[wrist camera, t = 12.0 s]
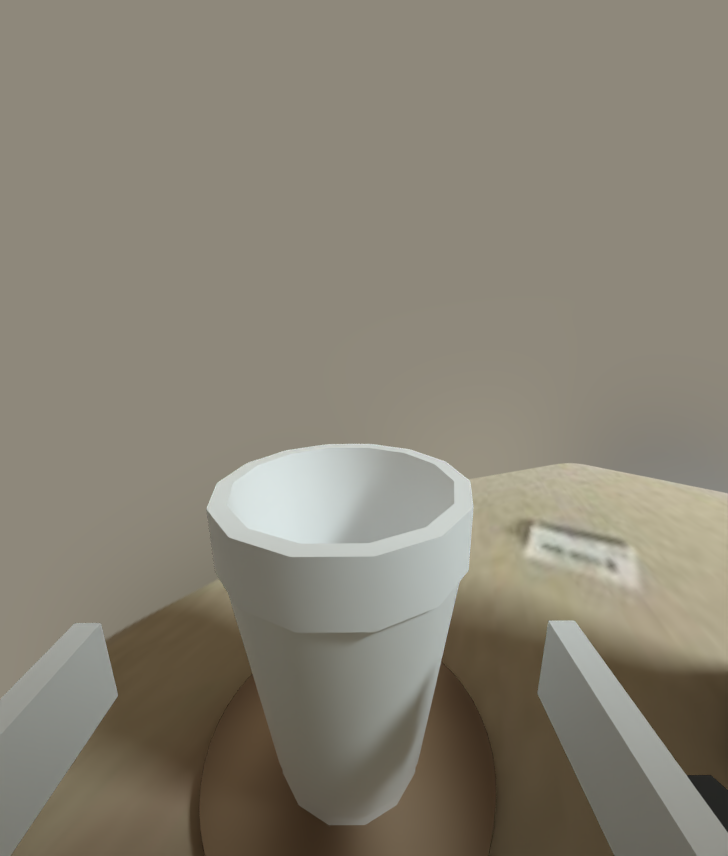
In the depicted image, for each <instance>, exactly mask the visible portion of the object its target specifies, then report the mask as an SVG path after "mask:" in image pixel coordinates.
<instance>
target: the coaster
mask: <svg viewBox="0 0 728 856" xmlns="http://www.w3.org/2000/svg"><path fill="white" fill-rule="evenodd" d="M495 810H496V774H495V767H494V760H493V753H492V750H491V746H490V742H489V738H488V734H487V732H486V729H485V726H484V724H483V721H482V719H481V716H480V714H479V712H478V710H477V708H476V706H475V704H474V702H473V700H472V699H471V697H470V696H469V694H468V693H467V691H466V690H465V688H464V687H463V685H462V684H461V683H460V681H459V680H458V679H457V678H456V676H455V675H454V674H453V673H452V672H451V671H450V670H449V669H448V668H447V667H446V666H445V665H444V664H443V663H442V662H441V664H440V669H439V673H438V677H437V682H436V686H435V690H434V695H433V699H432V703H431V708H430V712H429V716H428V721H427V725H426V729H425V734H424V738H423V742H422V747H421V751H420V755H419V760H418V763H417V765H416V767H415V774H414V775H413V777H412V779H411V781H410V783H409V784H408V786H407V788H406V790H405V791H404V793H403V795H402V797H401V798H400V800H399V802H398V804H397V805H396V806H395V807H393V808H391V809H390V810H388V811H387V812H385V813H384V814H382V815H380V816H379V817H377V818H376V819H374V820H372V821H371V822H369V823H368V824H366V825H328V824H326V823H325V822H323V821H322V820H320V819H319V818H317V817H316V816H314V815H313V814H311V813H310V812H308V811H307V810H305V809H304V808H302V807H301V806H299V805H298V803H297V801H296V799H295V797H294V795H293V793H292V791H291V788H290V786H289V784H288V782H287V780H286V778H285V776H284V774H283V769H282V767H281V765H280V763H279V760H278V757H277V753H276V750H275V747H274V743H273V740H272V737H271V733H270V730H269V727H268V723H267V720H266V717H265V714H264V710H263V707H262V704H261V700H260V697H259V694H258V690H257V687H256V684H255V680H254V677H253V674H252V675H251V676H250V677H249V678H248V679H247V680H246V681H245V683H244V684H243V685H242V686H241V687H240V689H239V690H238V691H237V693H236V694H235V696H234V697H233V699H232V700H231V701H230V703H229V704H228V706H227V708H226V710H225V712H224V713H223V715H222V717H221V719H220V721H219V723H218V725H217V728H216V730H215V732H214V735H213V737H212V740H211V742H210V746H209V749H208V753H207V756H206V759H205V763H204V769H203V774H202V780H201V788H200V805H199V813H200V828H201V837H202V843H203V848H204V853H205V856H488V854H489V850H490V845H491V841H492V836H493V829H494V820H495Z"/></svg>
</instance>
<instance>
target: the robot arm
mask: <svg viewBox="0 0 728 856" xmlns="http://www.w3.org/2000/svg"><path fill="white" fill-rule="evenodd" d="M537 694H538V696H539V698H540V700H541V702H542V704H543V707H544V709H545V711H546V713H547V715H548V717H549V719H550V721H551V723H552V725H553V728H554V730H555V732H556V734H557V736H558V738H559V740H560V742H561V744H562V747H563V749H564V751H565V753H566V755H567V757H568V759H569V761H570V763H571V765H572V768H573V770H574V772H575V774H576V776H577V778H578V780H579V782H580V784H581V787H582V789H583V791H584V793H585V795H586V797H587V799H588V801H589V803H590V805H591V808H592V810H593V812H594V814H595V816H596V818H597V820H598V822H599V824H600V826H601V829H602V831H603V833H604V835H605V837H606V839H607V841H608V843H609V845H610V848H611V850H612V852H613V854H614V856H728V790H727V789H726V788H725V787H723V786H722V785H721V784H720V783H719V782H718V781H717V780H716V779H715V778H713V777H712V776H711V775H686V774H685V773H684V771H683V770H682V769H681V767H680V766H679V764H678V763H677V762H676V760H675V759H674V757H673V756H672V755H671V753H670V752H669V751H668V749H667V748H666V746H665V745H664V744H663V742H662V741H661V739H660V738H659V737H658V735H657V734H656V733H655V731H654V730H653V728H652V727H651V726H650V724H649V723H648V721H647V720H646V719H645V717H644V716H643V715H642V713H641V712H640V710H639V709H638V708H637V706H636V705H635V703H634V702H633V701H632V699H631V698H630V697H629V695H628V694H627V692H626V691H625V690H624V688H623V687H622V685H621V684H620V683H619V681H618V680H617V679H616V677H615V676H614V674H613V673H612V672H611V670H610V669H609V667H608V666H607V665H606V663H605V662H604V661H603V659H602V658H601V656H600V655H599V654H598V652H597V651H596V649H595V648H594V647H593V645H592V644H591V643H590V641H589V640H588V638H587V637H586V636H585V634H584V633H583V631H582V630H581V629H580V627H579V626H578V625H577V623H576V622H575V621H548V627H547V633H546V640H545V647H544V653H543V660H542V666H541V673H540V680H539V686H538V693H537ZM117 697H118V693H117V688H116V684H115V680H114V676H113V671H112V667H111V663H110V659H109V655H108V650H107V646H106V642H105V638H104V634H103V629H102V625H101V623H75V624H74V625H73V626H72V627H71V628H70V629H69V630H68V631H67V632H66V633H65V634H64V635H63V636H62V637H61V638H60V639H59V640H58V641H57V642H56V643H55V644H54V645H53V646H52V647H51V648H50V649H49V650H48V651H47V652H46V653H45V654H44V655H43V656H42V657H41V658H40V659H39V660H38V661H37V662H36V663H35V664H34V665H33V666H32V667H31V668H30V669H29V670H28V672H27V673H25V674H24V675H23V677H22V678H21V679H19V681H18V682H17V683H16V684H15V685H14V686H13V687H12V688H11V689H10V690H9V691H8V692H7V693H6V694H5V695H4V696H3V697H2V698H1V699H0V856H11V854H12V853H13V851H14V850H15V848H16V847H17V845H18V844H19V843H20V841H21V840H22V838H23V837H24V835H25V834H26V832H27V831H28V829H29V828H30V826H31V825H32V823H33V822H34V820H35V819H36V817H37V816H38V814H39V813H40V811H41V810H42V808H43V807H44V805H45V804H46V802H47V801H48V799H49V798H50V796H51V795H52V793H53V792H54V790H55V789H56V787H57V786H58V784H59V783H60V781H61V780H62V779H63V777H64V776H65V774H66V773H67V771H68V770H69V768H70V767H71V765H72V764H73V762H74V761H75V759H76V758H77V756H78V755H79V753H80V752H81V750H82V749H83V747H84V746H85V744H86V743H87V741H88V740H89V738H90V737H91V735H92V734H93V732H94V731H95V729H96V728H97V726H98V725H99V723H100V722H101V720H102V719H103V717H104V716H105V715H106V713H107V712H108V710H109V709H110V707H111V706H112V704H113V703H114V701H115V700H116V698H117Z"/></svg>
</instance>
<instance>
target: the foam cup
mask: <svg viewBox="0 0 728 856" xmlns="http://www.w3.org/2000/svg"><path fill="white" fill-rule="evenodd" d="M206 510H207V518H208V525H209V532H210V539H211V547H212V554H213V561H214V569H215V573H216V574H217V576H218V578H219V579H220V581H221V582H222V584H223V586H224V587H225V589H226V591H227V592H228V594H229V598H230V601H231V604H232V608H233V611H234V614H235V618H236V621H237V624H238V628H239V631H240V634H241V637H242V641H243V644H244V647H245V651H246V654H247V657H248V661H249V664H250V667H251V671H252V674H253V677H254V680H255V684H256V687H257V690H258V694H259V697H260V700H261V704H262V707H263V710H264V714H265V717H266V720H267V723H268V727H269V730H270V733H271V737H272V740H273V743H274V747H275V750H276V753H277V757H278V760H279V763H280V765H281V767H282V769H283V774H284V776H285V778H286V780H287V782H288V784H289V786H290V788H291V791H292V793H293V795H294V797H295V799H296V801H297V803H298V805H299V806H301V807H302V808H304V809H305V810H307V811H308V812H310V813H311V814H313V815H314V816H316V817H317V818H319V819H320V820H322V821H323V822H325V823H326V824H328V825H366V824H368V823H369V822H371V821H372V820H374V819H376V818H377V817H379V816H380V815H382V814H384V813H385V812H387V811H388V810H390V809H391V808H393V807H395V806H396V805H397V804H398V802H399V800H400V798H401V797H402V795H403V793H404V791H405V790H406V788H407V786H408V784H409V783H410V781H411V779H412V777H413V775H414V774H415V767H416V765H417V763H418V760H419V755H420V751H421V747H422V742H423V738H424V734H425V729H426V725H427V721H428V716H429V712H430V708H431V703H432V699H433V695H434V690H435V686H436V682H437V677H438V673H439V669H440V664H441V660H442V656H443V651H444V647H445V643H446V638H447V634H448V630H449V625H450V621H451V617H452V612H453V608H454V604H455V599H456V595H457V591H458V587H459V582H460V580H461V579H462V578H463V577H464V575H465V574H466V573H467V572H468V570H469V558H470V545H471V532H472V519H473V500H472V491H471V483H470V480H468V479H467V478H466V477H465V476H463V475H462V474H461V473H460V472H458V471H457V470H456V469H455V468H453V467H452V466H451V465H450V464H448V463H447V462H445V461H443V460H440V459H437V458H434V457H431V456H428V455H425V454H422V453H419V452H416V451H414V450H411V449H403V448H396V447H389V446H382V445H375V444H326V445H319V446H313V447H306V448H299V449H292V450H285V451H282V452H279V453H276V454H273V455H270V456H267V457H264V458H261V459H258V460H255V461H252V462H249V463H247V464H245V465H244V466H242V467H240V468H239V469H237V470H236V471H234V472H233V473H231V474H230V475H228V476H227V477H225V478H224V479H222V480H221V481H219V482H218V483H217V484H216V487H215V489H214V492H213V494H212V496H211V499H210V501H209V504H208V506H207V509H206Z"/></svg>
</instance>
